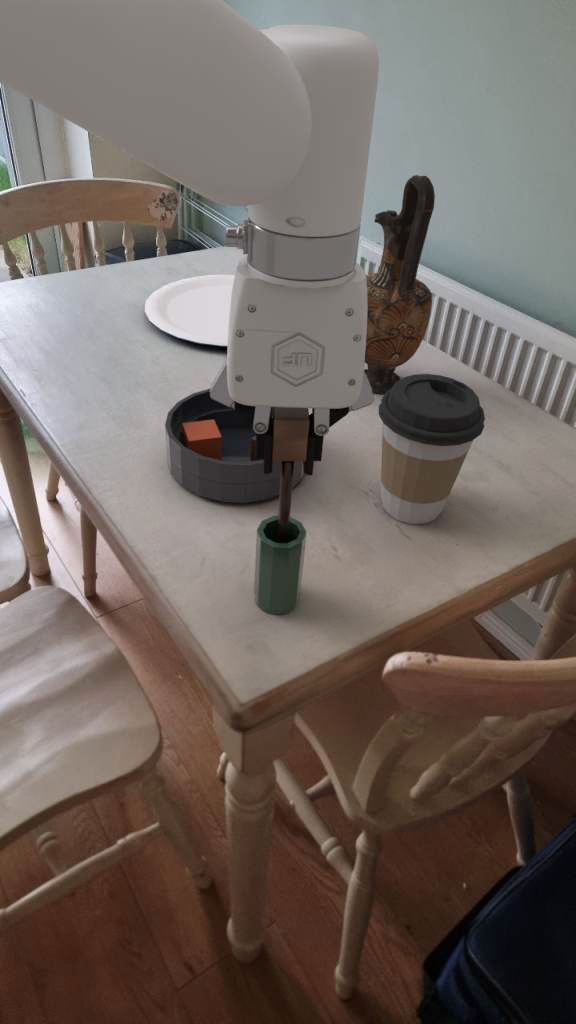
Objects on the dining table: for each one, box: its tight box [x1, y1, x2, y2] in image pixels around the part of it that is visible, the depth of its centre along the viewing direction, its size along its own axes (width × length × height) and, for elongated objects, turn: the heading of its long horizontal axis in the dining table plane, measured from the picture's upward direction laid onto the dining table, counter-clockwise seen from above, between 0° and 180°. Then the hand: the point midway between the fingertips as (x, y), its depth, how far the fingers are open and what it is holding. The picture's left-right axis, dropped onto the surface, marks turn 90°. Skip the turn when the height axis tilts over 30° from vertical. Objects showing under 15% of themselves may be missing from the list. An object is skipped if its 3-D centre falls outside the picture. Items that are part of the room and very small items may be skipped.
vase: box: [364, 174, 436, 395], centre depth 95 cm, size 12×12×30 cm
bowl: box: [164, 388, 305, 504], centre depth 85 cm, size 17×17×6 cm
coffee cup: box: [378, 373, 486, 526], centre depth 77 cm, size 11×11×15 cm
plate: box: [144, 274, 235, 348], centre depth 119 cm, size 29×29×2 cm
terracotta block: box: [182, 419, 222, 461], centre depth 85 cm, size 4×4×4 cm
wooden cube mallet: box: [272, 407, 310, 543], centre depth 61 cm, size 3×3×18 cm
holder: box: [253, 515, 307, 616], centre depth 67 cm, size 4×5×9 cm
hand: (287, 463), depth 59 cm, fingers closed on wooden cube mallet, 2 cm apart
